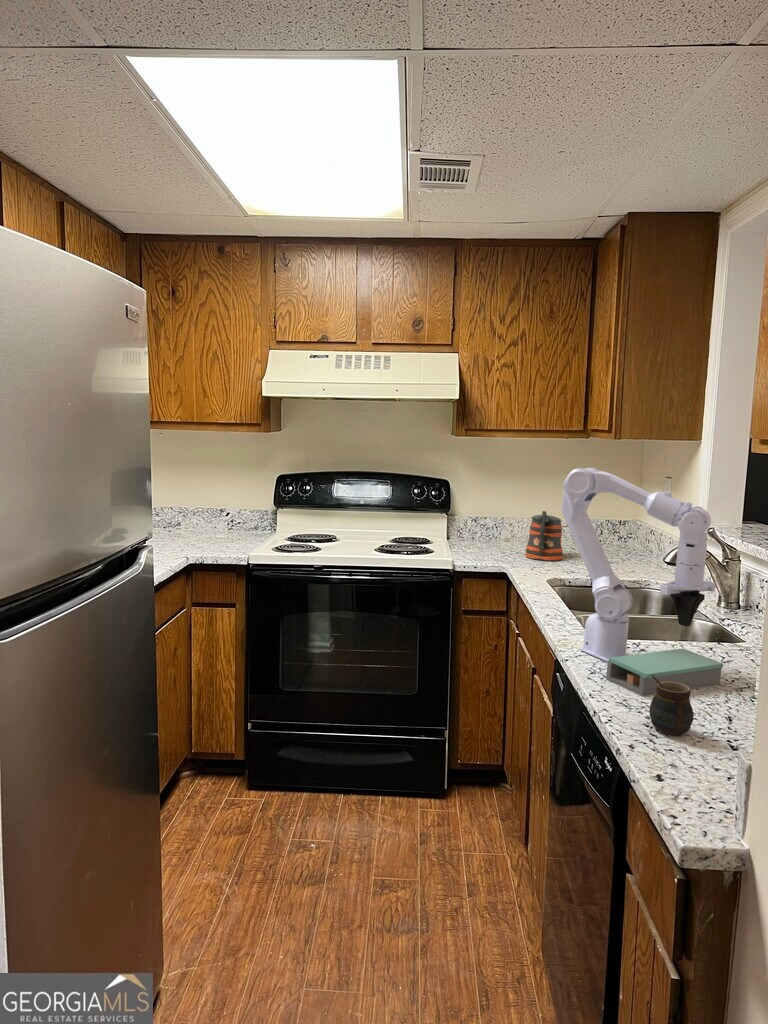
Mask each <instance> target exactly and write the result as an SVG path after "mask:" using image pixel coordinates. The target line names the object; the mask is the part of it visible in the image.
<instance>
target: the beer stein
mask: <svg viewBox="0 0 768 1024" xmlns="http://www.w3.org/2000/svg"><path fill="white" fill-rule="evenodd" d="M530 519H531V522H530V527H529V532H528V533H529V534H528V541H527V544H526V547H525V548H526V549H525V557H526V558H528V559H532V560H537V561H547V562H551V561H552V562H557V561H561V560H563V547H562V537H563V527H562V526H563V525H562V519H560V518H558V517H556V516H553V515H550V514H549V515H548V514H547V511H546V510H543V511H542V513H541V514H537V515H533V516H531V517H530Z"/></svg>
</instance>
